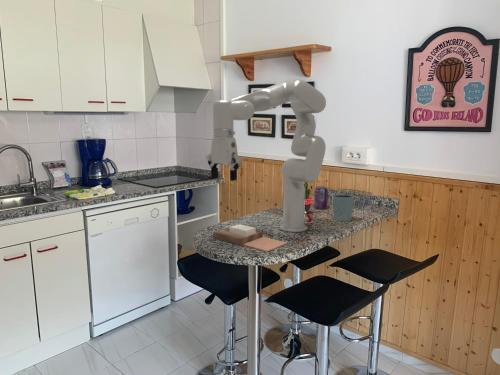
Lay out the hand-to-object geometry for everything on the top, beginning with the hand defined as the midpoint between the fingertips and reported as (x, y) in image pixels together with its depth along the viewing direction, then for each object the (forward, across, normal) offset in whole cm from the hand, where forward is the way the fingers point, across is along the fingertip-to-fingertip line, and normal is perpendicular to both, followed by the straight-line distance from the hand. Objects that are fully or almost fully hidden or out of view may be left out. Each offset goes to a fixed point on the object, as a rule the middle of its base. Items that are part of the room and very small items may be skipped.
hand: (223, 179), depth 149 cm
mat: (+26, -12, -10) cm, 31 cm away
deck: (+26, +2, -10) cm, 28 cm away
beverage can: (+26, +2, -82) cm, 87 cm away
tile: (+24, -1, -10) cm, 26 cm away
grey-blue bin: (+26, -18, -67) cm, 74 cm away
